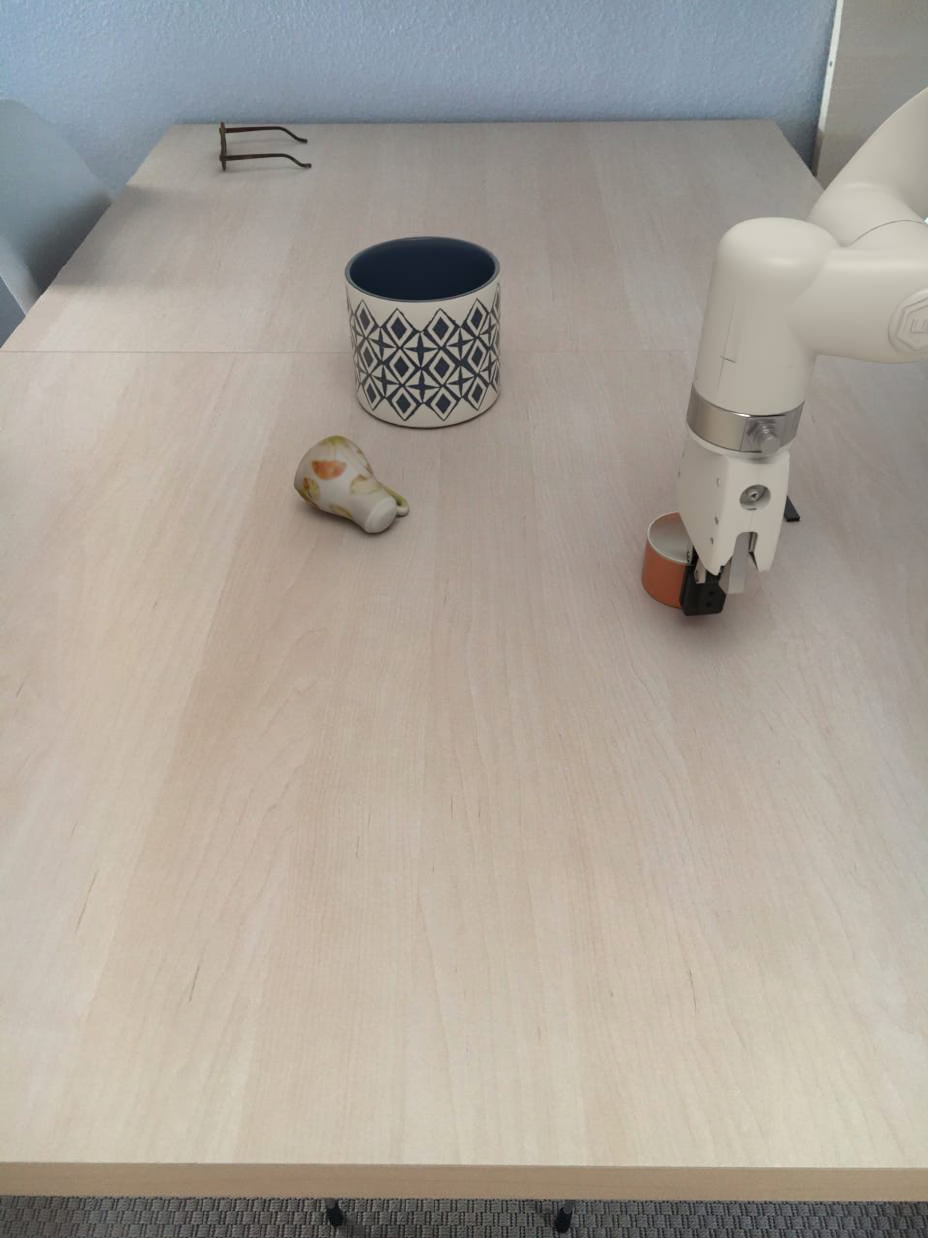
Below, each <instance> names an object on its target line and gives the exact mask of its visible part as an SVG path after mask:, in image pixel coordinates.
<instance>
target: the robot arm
mask: <svg viewBox="0 0 928 1238" xmlns="http://www.w3.org/2000/svg"><path fill="white" fill-rule="evenodd" d="M927 219H928V86H926V87H925V88H924V89H922V90H921V91H920V92H918V93H917V94H915V95H914V96H913V97H911V98H910V99H908V100H907V101H906V102H905V103H903V104H902V105H901V106H900V107H898V108H897V109H896V110H895V111H894V112H893V113H892V114H891V115H890V116H889V117H888V118H886V119H885V121H883V123H881V124H880V125H879V127H878V128H877V129H875V131H874V132H873V133H872V134H871V135H870V136H869V137H868V138H867V139H866V141H865V142H864V143H863V144H862V145H861V146H860V147H859V149H858V150H857V151H856V152H855V153H854V154H853V156H852V157H850V159H849V161H848V162H847V163H846V164H845V165H844V166H843V167H842V169H841V170H840V171H838V174H837V175H836V176H835V177H834V178H833V180H832V181H831V182H830V183H829V184H828V186H827V187H826V188H825V190H824V191H823V192H822V194H821V195H820V196H819V198H818V199H817V200H816V202H815V204H814V206H813V207H812V209H811V210H810V212H809V213H808V216H807V217H806V219H805V221H803V220H800V219H797V218H796V219H795V218H789V217H782V216H781V217H780V216H779V217H778V216H777V217H776V216H769V217H767V216H766V217H765V216H764V217H757V218H756V217H755V218H750V219H746V220H743V221H741V222H738V223H737V224H735V225H732V226H731V227H730V228H729V229H728V230H727V231H726V232H725V233H724V234H723V236H722V237H721V239H720V240H719V242H718V245H717V247H716V250H715V255H714V258H713V264H712V269H711V274H710V281H709V287H708V293H707V297H706V303H705V309H704V314H703V320H702V326H701V331H700V337H699V342H698V349H697V353H696V359H695V360H696V361H695V365H694V369H693V370H694V371H693V377H692V382H691V388H690V395H689V399H688V405H687V410H686V416H685V421H684V426H685V431H686V432H687V434H686V439H685V442H684V446H683V449H682V454H681V460H680V464H679V469H678V473H677V474H678V475H677V480H676V487H675V488H676V489H675V503H676V507H677V511H679V514H680V516H681V518H682V521H683V523H684V525H685V528H686V530H687V532H688V542H687V550H686V560H687V563H688V564H692V566H685V571H684V576H683V581H682V586H681V591H680V596H679V603H680V605H681V607H683V608H681V610H682V612H683V615H684V616H685V617H697V616H709V615H718V614H720V613H722V612H723V611H724V606H725V603H726V599H727V595H737V594H743V593H744V590H745V584H746V576H747V568H748V562H749V557H750V559H751V561H752V563H753V565H754V566H755V568H756V571H757V572H758V573H760V572H761V573H763V572H764V573H766V572H768V571H769V570H770V569H771V567H772V565H773V563H774V559H775V556H776V551H777V547H778V544H779V539H780V535H781V534H780V533H781V529H782V525H783V519H784V509H785V504H786V497H787V496H788V491H789V479H790V470H791V469H790V468H791V467H790V466H791V454H790V451H789V449H790V448H791V447H792V446H793V445H794V442H795V439H796V436H797V433H798V429H799V424H800V422H801V421H800V420H801V417H802V414H803V410H804V406H805V402H806V398H807V395H808V392H809V387H810V384H811V381H812V377H813V373H814V370H815V365H816V362H817V358H818V356H829V357H835V358H837V357H838V358H844V359H850V360H857V361H863V362H867V363H876V364H885V365H886V364H887V365H903V364H904V365H905V364H915V363H919V362H923V361H927V360H928V223H927V222H926V220H927Z"/></svg>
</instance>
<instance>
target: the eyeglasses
mask: <svg viewBox="0 0 928 1238" xmlns="http://www.w3.org/2000/svg"><path fill="white" fill-rule="evenodd" d="M259 131H282V132H284V133H286V134H287V135H288V136H289V137H291V138H292V139H294V140H295V141H297V142H300V143H305V144H307V143H308V142H309V141H308V139H307V138H303V137H299V136H297V135H296V134H294V132H292V131H290V130H289V129H288V128H286V127H283V126H281V125H280V126H277V125H263V126H239V127H226V125H225V122H224V121H221V122H220V127H219V128H218V133H219V135H220V147H221V148H220V153H219V157H218V160H219V162H221V167H222V170H223V171H226V168H227V162H232V161H233V162H234V161H244V160H245V161H246V160H257V159H269V158H286V159H288V160H290V161H291V162H293V163H294V164H296V165H297V166H298V167H300V168H305V169H307V168H311V167H312V163H310V162H307V163H304V162H303V163H302V162H300V161H299V160H298V159H296V158H295V157H293V156H292V155H290V154H288V153H281V152H280V153H279V152H278V153H277V152H275V153H274V152H272V153H271V152H269V153H248V154H247V153H245V154H228V155H227V151H228V149H227V139H226V138H227V137H226V134H237V133H249V132H259Z"/></svg>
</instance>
